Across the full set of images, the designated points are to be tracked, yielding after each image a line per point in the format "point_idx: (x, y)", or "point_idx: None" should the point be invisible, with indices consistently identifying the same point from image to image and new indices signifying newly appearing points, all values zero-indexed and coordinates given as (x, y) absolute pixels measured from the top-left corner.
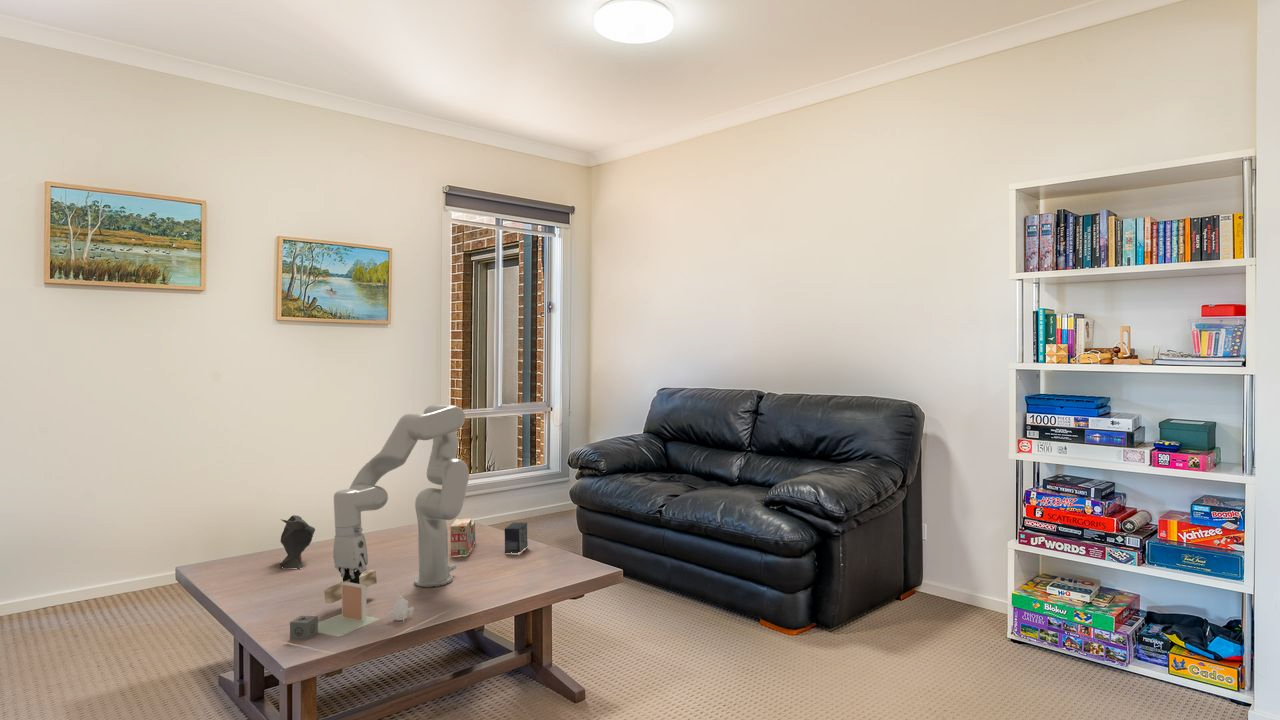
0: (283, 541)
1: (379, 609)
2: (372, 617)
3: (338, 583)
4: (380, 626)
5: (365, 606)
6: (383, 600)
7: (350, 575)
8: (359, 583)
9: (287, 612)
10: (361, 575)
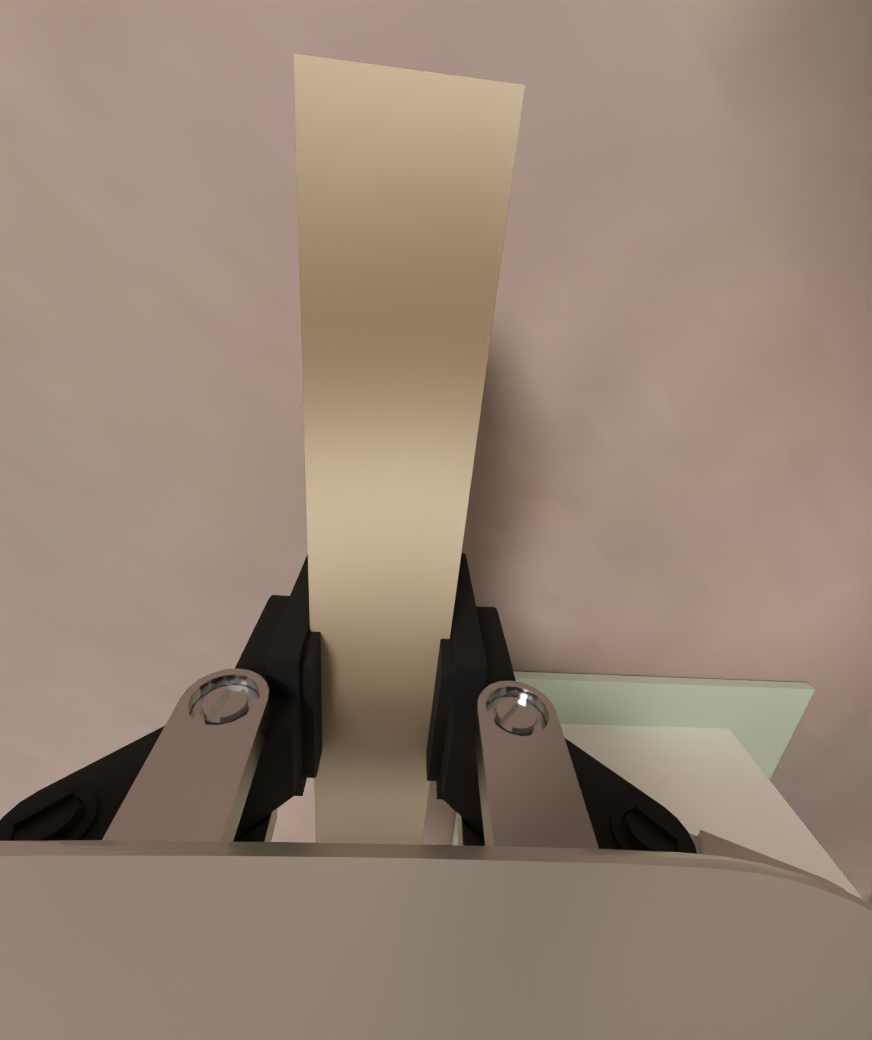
0: None
1: (693, 520)
2: (748, 688)
3: (318, 821)
4: (852, 748)
5: (796, 824)
6: (595, 293)
7: (299, 690)
8: (470, 585)
9: (61, 773)
10: (407, 512)
